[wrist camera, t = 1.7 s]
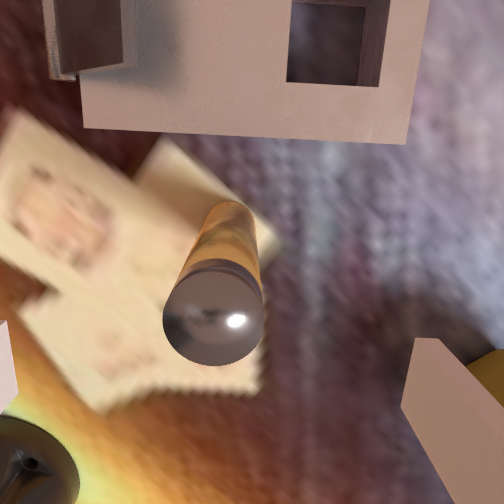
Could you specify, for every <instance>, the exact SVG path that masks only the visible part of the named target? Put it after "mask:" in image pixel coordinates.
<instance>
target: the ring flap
mask: <svg viewBox="0 0 504 504" xmlns="http://www.w3.org/2000/svg"><path fill="white" fill-rule="evenodd" d="M41 9H42V18H43V27H44V36H45V46H46V55H47V64H48V73H49V79H52V80H58V81H69V82H75V81H76V76H77V75H83V74H89V73H95V72H101V71H107V70H113V69H120V68H126V67H132V66H138V47H137V22H136V0H41Z"/></svg>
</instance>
